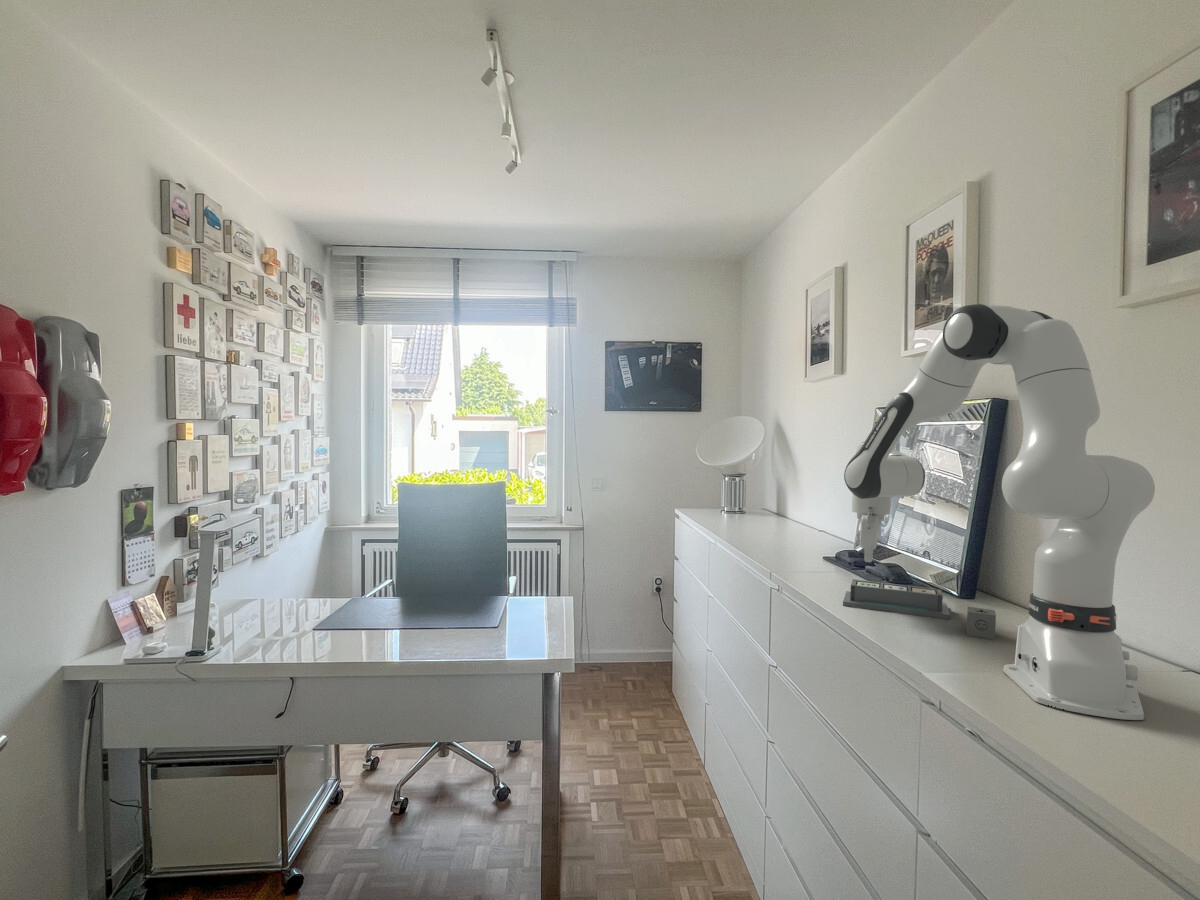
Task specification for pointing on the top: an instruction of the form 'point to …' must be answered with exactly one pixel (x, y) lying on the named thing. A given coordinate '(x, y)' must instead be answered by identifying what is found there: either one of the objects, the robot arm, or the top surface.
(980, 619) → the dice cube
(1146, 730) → the top surface
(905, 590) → the grey key
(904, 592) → the grey slotted tray
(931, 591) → the sand key
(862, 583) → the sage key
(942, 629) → the top surface
